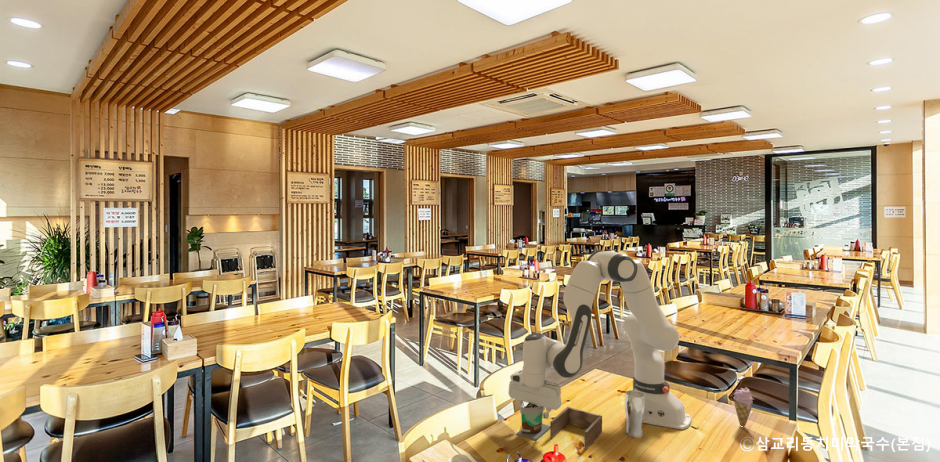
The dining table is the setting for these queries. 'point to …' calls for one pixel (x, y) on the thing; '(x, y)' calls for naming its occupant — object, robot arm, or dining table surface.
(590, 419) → the open box
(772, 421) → the dining table surface
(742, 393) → the ice cream cone
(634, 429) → the beer glass
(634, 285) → the robot arm
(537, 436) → the rubber mat
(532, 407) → the food container
